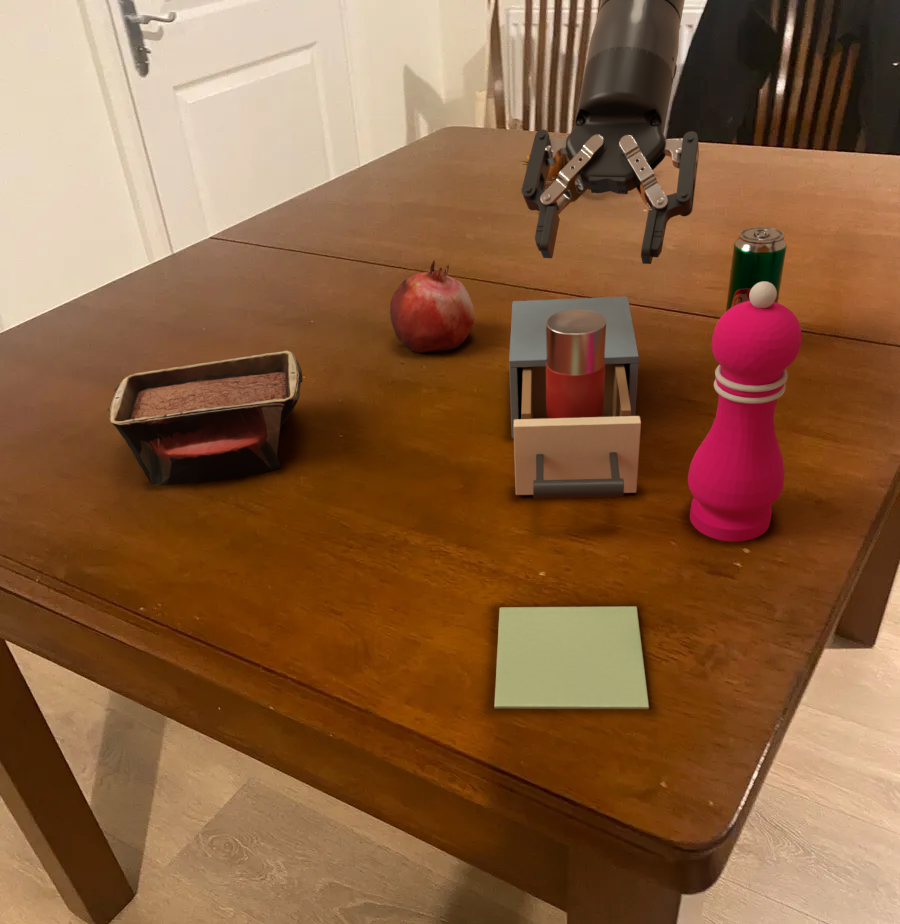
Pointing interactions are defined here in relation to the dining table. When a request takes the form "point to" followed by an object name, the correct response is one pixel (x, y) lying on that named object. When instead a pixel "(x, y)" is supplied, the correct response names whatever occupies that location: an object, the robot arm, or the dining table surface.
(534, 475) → the drawer
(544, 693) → the tile
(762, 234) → the soda can
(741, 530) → the pepper mill
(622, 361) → the cabinet
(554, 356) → the tin
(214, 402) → the baking dish
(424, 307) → the fruit
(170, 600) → the dining table surface
